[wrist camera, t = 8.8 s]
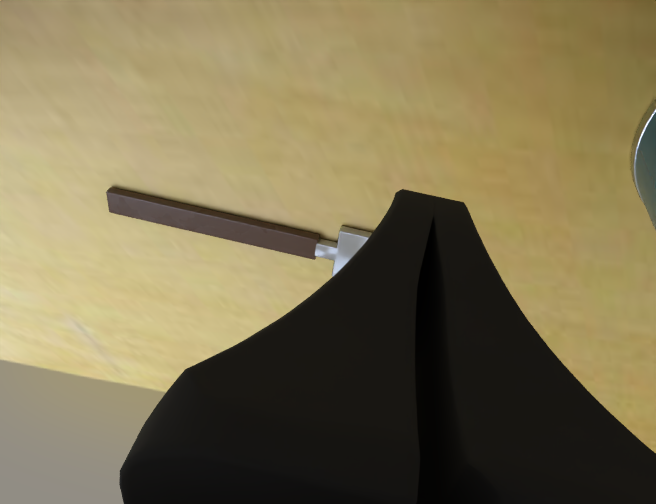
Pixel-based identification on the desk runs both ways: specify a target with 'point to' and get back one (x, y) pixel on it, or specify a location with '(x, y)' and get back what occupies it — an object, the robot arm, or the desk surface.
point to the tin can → (646, 161)
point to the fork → (237, 227)
